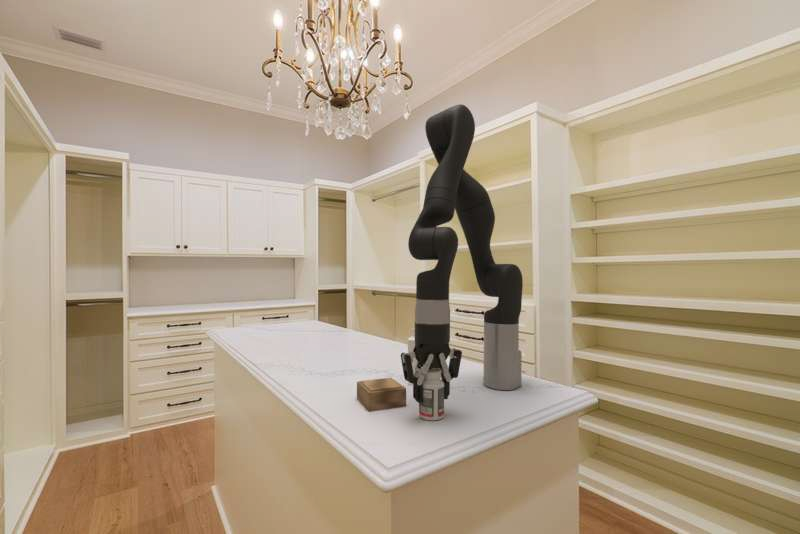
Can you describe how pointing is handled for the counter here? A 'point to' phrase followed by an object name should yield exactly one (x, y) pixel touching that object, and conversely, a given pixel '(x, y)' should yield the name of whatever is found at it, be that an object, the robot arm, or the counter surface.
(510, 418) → the counter surface
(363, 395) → the base block
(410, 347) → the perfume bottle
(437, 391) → the pill bottle
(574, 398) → the counter surface
